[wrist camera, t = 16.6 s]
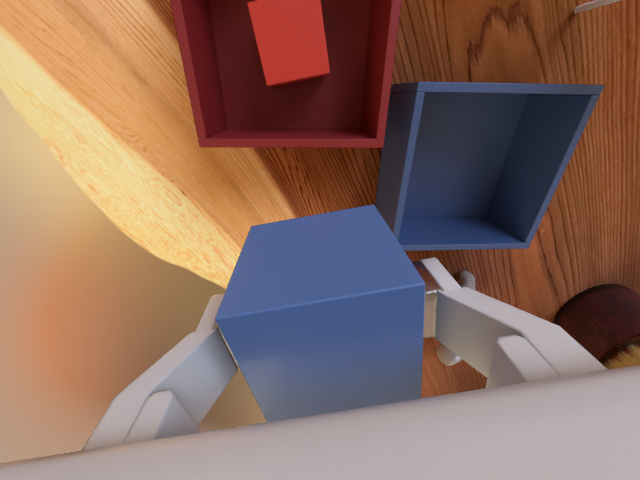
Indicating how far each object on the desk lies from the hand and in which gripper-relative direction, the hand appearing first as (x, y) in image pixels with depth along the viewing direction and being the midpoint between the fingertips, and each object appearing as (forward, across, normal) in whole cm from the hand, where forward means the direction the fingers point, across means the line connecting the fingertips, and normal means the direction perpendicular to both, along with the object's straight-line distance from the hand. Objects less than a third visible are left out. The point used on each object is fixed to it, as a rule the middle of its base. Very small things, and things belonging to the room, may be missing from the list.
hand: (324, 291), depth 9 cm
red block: (+19, 0, -9) cm, 21 cm away
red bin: (+19, 0, -9) cm, 21 cm away
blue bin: (+19, -13, +2) cm, 24 cm away
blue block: (+2, 0, 0) cm, 2 cm away
